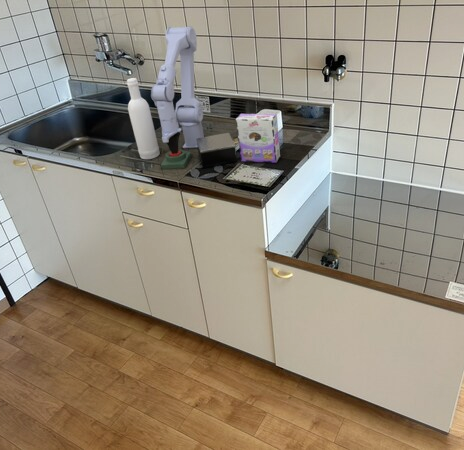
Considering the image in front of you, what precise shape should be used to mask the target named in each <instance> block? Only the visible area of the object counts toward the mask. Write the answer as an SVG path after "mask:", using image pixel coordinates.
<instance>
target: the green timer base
mask: <svg viewBox="0 0 464 450" xmlns="http://www.w3.org/2000/svg"><path fill="white" fill-rule="evenodd" d="M178 150H179V151H181V155H179V156H174V157H171V156H170V155H169V153H170V152H171V151H170V150H169V151H168V152H166V153H165V157H164V159H163V161H162V162H161V163H160V168H161V170H169V169H170V170H172V169H186V167H187V165H188V163H189V162H190V160H191V158H192V151H190V150H189V151H185V150H184V149H179V148H178Z"/></svg>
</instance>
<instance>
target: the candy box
mask: <svg viewBox="0 0 464 450" xmlns="http://www.w3.org/2000/svg"><path fill="white" fill-rule="evenodd" d="M235 126H236V134H237V140H238V146H239V148H238V149H239V155H240V156H239V157H240V161H241V162H248V163H249V162H250V163H272V164H273V163H275V164H277V162H278V161H279V159H280V158H281V150H280V149H281V147H280V136H279V124H278V114H277V113H240V114H239V115H238V116H237V117H236V118H235Z"/></svg>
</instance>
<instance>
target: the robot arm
mask: <svg viewBox="0 0 464 450" xmlns="http://www.w3.org/2000/svg"><path fill="white" fill-rule="evenodd" d="M164 38H165V43H166V45H167V47H166V53H165V60H164V64H162V65H161V66H159V67H160V68H159V72H158V75H157V79H156V82H155V84H154V85H153V86H152V87H151V90H150V97H151V100H152V101H153V102H154V106H155V107H156V108H157V113H158V118H159V121H160V122H159V123H160V126H161V134H162V136H161V140H162V143H163V144H164V143H165V144H166V145H167V146H168V149H169V151H171V153H172V154H174V153H178V149H179V142H180V136H181V132H182V134H183V139H184V144H183V145H182V149H195V148H196V149H198V146H197V141H196V138H202V137H205V134H204V128H203V124H202V121H203V119H204V111H203V105H202V102H201V101H199V100H198V99H197V98H195V97H196V95H195V52H196V51H197V45H198V44H197V33H196V30H195V29H194V27H193V26H178V27H176V26H175V27H171V26H170V27H167V28H166V30H165V37H164ZM179 56H180V57H179ZM178 58H179V59H180V93H181V94H180V95H181V98H180V99H179V100H177V102H176V103H175V106H174V101H173V100H174V99H175V85H174V83H175V79H176V75H177V70H176V68H175V67H176V63H177V62H178ZM180 126H181V127H180Z"/></svg>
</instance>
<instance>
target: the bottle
mask: <svg viewBox="0 0 464 450" xmlns="http://www.w3.org/2000/svg"><path fill="white" fill-rule="evenodd" d="M126 85H127V87H128V92H129V96H130V100H129V102H128V103H127V111H128V115H129V119H130V123H131V126H132V130H133V135H134V139H135V142H136V146H137V151H138V154H139V157H140V159H142V160H153V159H156V158H157V157H159V155H160V154H161V153H160V147H159V144H158V143H159V142H158V139H157V135H156V131H155V126H154V122H153V117H152V113H151V109H150V104H149V103H148V102H147V100H146V99H144V98H143V97H142V94H141V91H140V86H139V81H138V78H136V77H130V78H127V79H126Z"/></svg>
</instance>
